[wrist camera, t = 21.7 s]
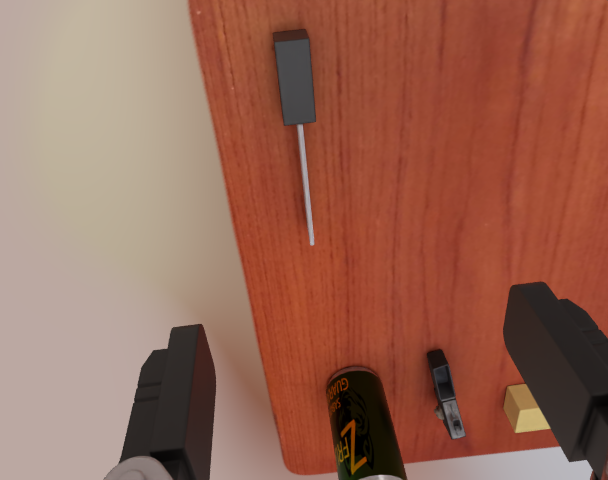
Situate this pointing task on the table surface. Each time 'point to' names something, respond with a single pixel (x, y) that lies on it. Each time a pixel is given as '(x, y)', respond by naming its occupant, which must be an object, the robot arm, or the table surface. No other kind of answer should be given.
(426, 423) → the table surface
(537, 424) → the butter
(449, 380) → the lighter
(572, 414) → the robot arm
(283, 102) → the knife
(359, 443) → the guarana soda can
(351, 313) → the table surface
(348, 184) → the table surface
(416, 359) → the table surface
